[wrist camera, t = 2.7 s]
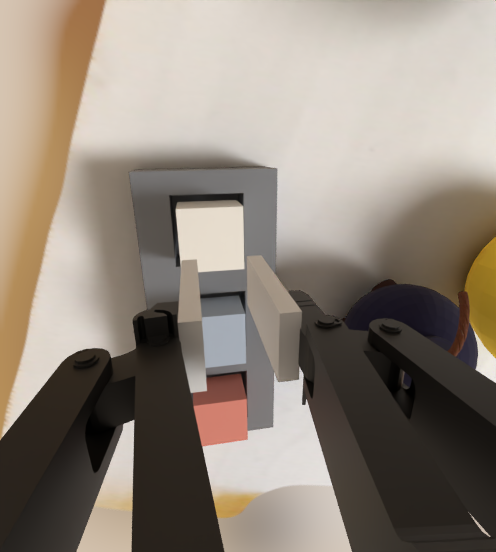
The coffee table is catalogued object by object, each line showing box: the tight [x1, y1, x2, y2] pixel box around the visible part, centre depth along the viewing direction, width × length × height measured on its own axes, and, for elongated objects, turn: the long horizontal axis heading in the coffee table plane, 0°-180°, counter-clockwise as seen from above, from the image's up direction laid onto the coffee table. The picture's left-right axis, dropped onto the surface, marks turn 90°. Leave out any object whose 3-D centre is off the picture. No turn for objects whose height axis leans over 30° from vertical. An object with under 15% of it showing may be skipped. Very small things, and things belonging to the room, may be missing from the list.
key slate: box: [200, 295, 246, 368], centre depth 30 cm, size 5×5×4 cm
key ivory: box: [176, 200, 244, 272], centre depth 27 cm, size 5×5×4 cm
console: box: [129, 167, 277, 431], centre depth 33 cm, size 28×12×4 cm, turn 1°
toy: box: [341, 279, 478, 387], centre depth 32 cm, size 12×14×15 cm
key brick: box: [193, 374, 248, 446], centre depth 33 cm, size 5×5×4 cm
